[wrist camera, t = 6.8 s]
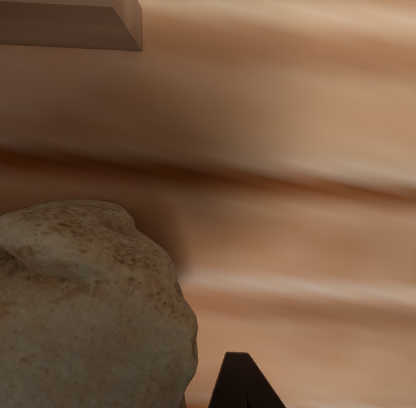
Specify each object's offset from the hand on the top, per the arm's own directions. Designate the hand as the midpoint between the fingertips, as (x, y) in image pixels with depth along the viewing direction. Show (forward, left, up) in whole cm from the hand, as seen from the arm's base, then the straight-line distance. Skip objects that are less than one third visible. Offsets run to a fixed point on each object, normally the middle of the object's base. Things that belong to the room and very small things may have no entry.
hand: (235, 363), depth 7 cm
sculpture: (+1, +9, -3) cm, 9 cm away
